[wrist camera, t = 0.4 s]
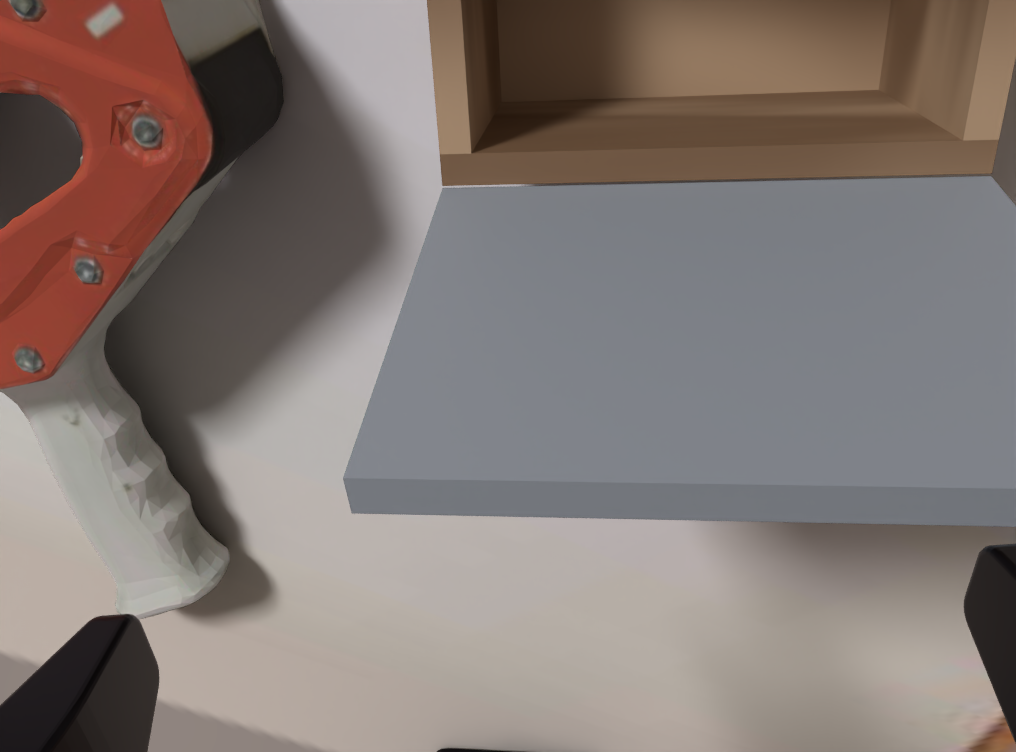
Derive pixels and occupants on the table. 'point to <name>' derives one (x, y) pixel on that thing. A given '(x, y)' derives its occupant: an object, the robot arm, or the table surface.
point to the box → (717, 88)
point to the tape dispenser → (121, 251)
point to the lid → (704, 356)
